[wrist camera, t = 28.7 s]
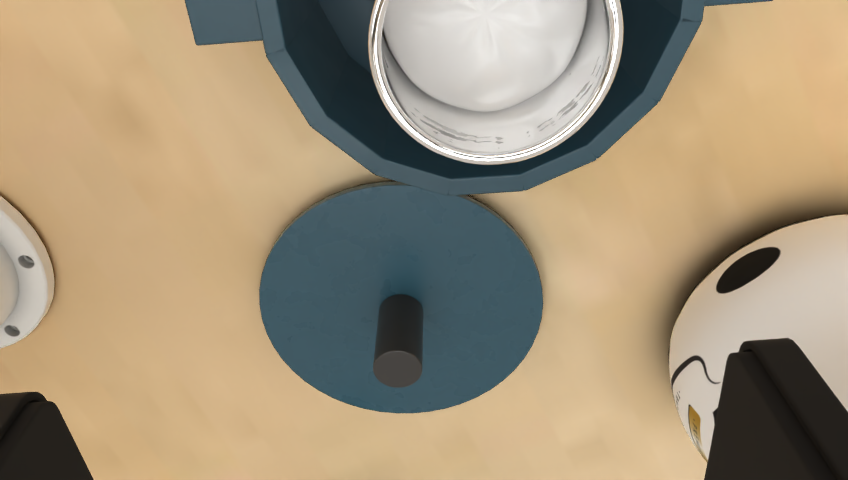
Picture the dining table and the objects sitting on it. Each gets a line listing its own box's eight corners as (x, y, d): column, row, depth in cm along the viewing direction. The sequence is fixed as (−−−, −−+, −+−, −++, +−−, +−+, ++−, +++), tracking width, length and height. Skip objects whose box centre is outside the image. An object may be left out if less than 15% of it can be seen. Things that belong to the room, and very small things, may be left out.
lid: (539, 394, 45) (553, 469, 39) (290, 407, 45) (272, 482, 40) (542, 165, 36) (561, 222, 31) (235, 186, 37) (203, 245, 32)
